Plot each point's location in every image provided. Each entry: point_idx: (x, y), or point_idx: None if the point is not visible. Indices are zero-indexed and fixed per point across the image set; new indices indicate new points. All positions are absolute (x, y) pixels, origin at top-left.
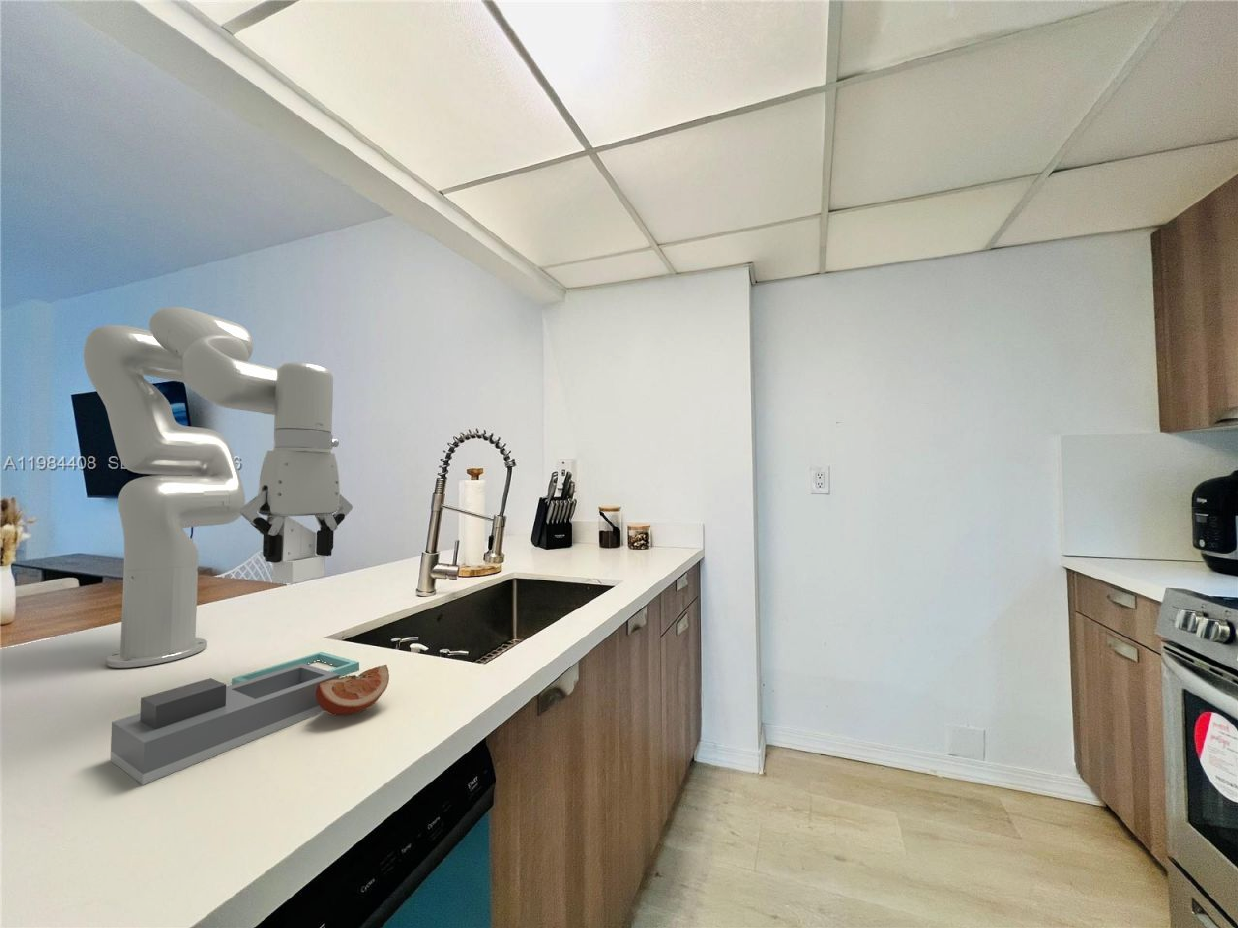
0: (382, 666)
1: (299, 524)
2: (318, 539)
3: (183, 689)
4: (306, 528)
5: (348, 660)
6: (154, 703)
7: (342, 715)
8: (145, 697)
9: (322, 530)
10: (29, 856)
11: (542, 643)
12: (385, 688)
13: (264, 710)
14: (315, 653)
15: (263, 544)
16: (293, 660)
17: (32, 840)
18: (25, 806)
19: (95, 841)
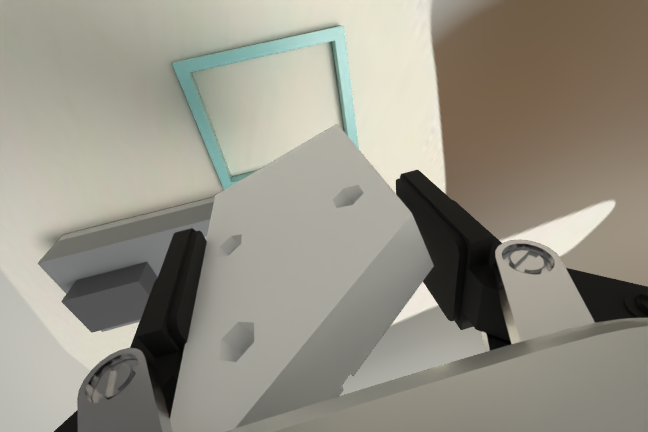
0: None
1: (338, 386)
2: (432, 230)
3: (110, 301)
4: (380, 330)
5: (353, 135)
6: (87, 324)
7: None
8: (66, 301)
9: (468, 285)
10: (70, 344)
11: (541, 238)
12: None
13: None
14: (331, 28)
15: (142, 317)
16: (285, 42)
17: (60, 329)
18: (20, 280)
19: (108, 348)
